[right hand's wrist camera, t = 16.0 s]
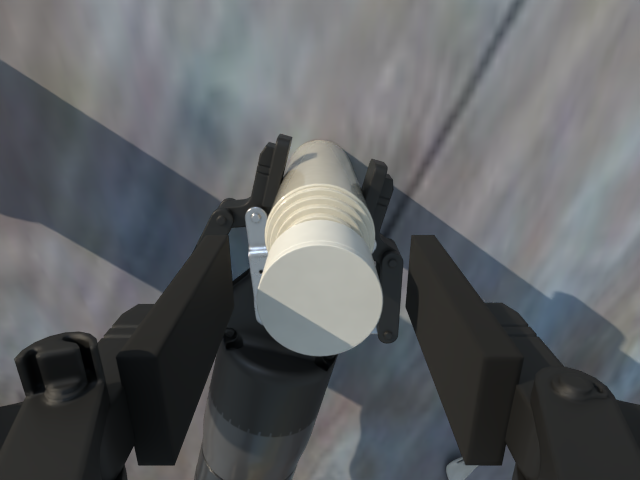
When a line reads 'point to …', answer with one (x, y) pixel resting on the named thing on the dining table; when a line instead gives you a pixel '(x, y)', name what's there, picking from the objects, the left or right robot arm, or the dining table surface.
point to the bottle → (319, 193)
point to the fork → (459, 470)
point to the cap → (319, 289)
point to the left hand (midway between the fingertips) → (331, 151)
